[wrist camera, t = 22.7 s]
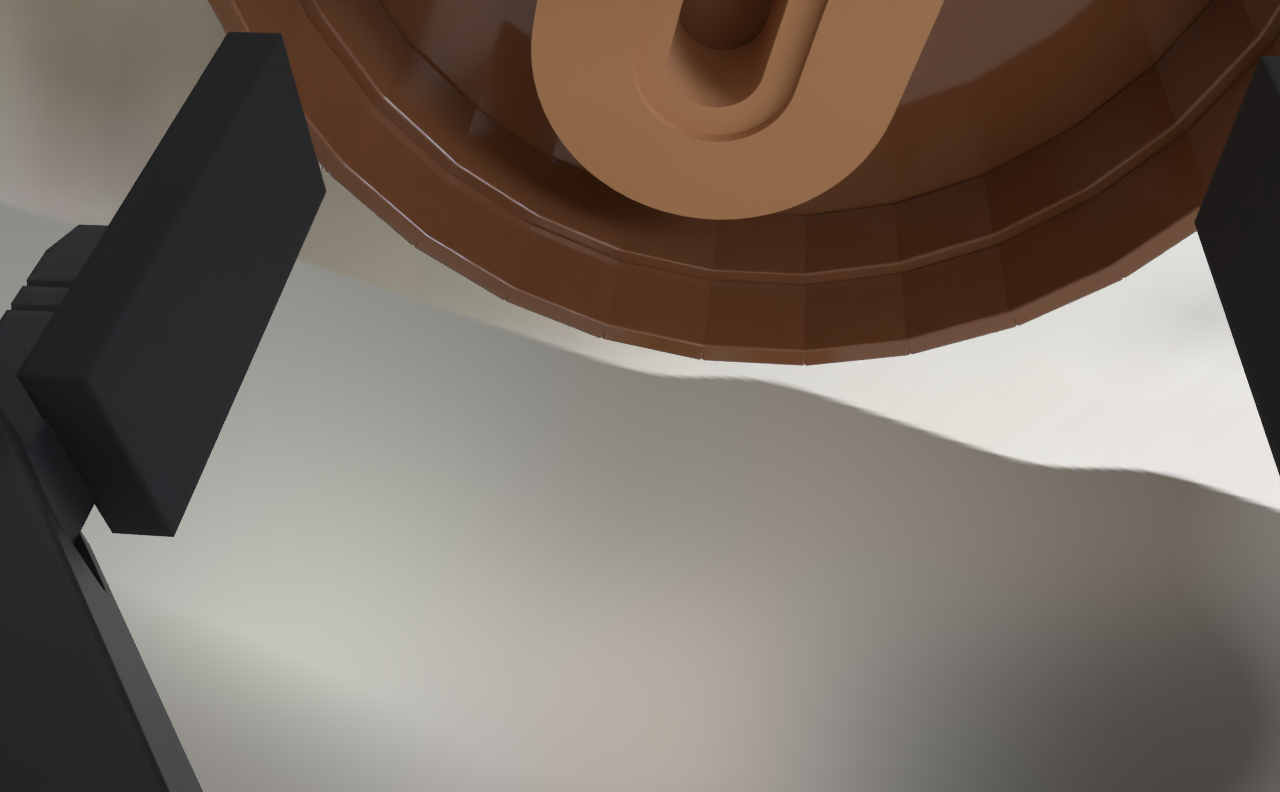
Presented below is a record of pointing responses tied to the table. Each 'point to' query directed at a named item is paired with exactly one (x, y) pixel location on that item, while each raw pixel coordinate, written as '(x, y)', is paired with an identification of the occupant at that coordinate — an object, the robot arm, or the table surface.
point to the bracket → (724, 98)
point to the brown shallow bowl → (819, 228)
